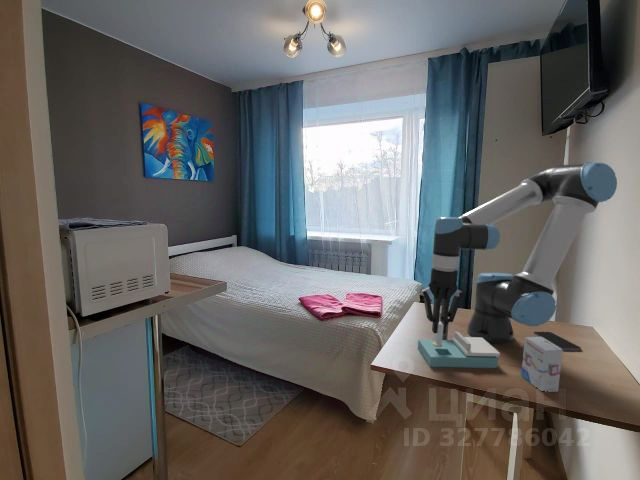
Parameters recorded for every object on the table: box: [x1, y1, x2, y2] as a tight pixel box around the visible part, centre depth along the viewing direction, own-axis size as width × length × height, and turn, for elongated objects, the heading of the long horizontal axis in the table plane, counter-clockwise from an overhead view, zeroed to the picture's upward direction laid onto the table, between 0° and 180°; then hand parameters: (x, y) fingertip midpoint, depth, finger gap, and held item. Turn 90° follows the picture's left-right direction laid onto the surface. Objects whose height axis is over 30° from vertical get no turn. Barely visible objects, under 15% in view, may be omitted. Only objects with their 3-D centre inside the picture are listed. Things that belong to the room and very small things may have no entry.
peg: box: [439, 312, 450, 340], centre depth 117 cm, size 3×3×10 cm
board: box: [417, 339, 499, 369], centre depth 106 cm, size 20×12×3 cm, turn 91°
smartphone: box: [533, 331, 582, 352], centre depth 121 cm, size 7×1×15 cm
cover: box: [451, 331, 501, 357], centre depth 106 cm, size 10×11×3 cm
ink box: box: [520, 336, 564, 393], centre depth 92 cm, size 9×5×12 cm, turn 5°
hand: (437, 342), depth 106 cm, fingers closed
